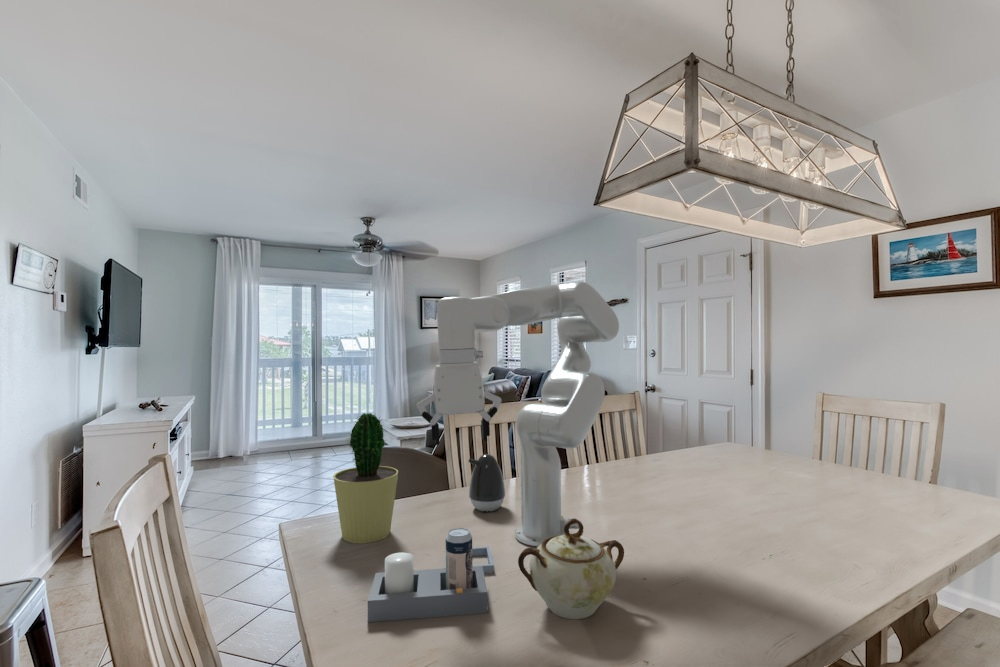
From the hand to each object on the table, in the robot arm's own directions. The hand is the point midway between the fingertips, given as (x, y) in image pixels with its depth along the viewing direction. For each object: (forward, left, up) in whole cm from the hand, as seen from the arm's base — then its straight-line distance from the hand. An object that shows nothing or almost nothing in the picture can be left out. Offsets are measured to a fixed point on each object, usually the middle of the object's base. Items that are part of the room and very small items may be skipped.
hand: (461, 441), depth 98 cm
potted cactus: (+22, -23, -26) cm, 42 cm away
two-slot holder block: (+6, +11, -26) cm, 29 cm away
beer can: (+1, +11, -26) cm, 29 cm away
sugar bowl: (-19, +16, -26) cm, 36 cm away
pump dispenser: (-9, -37, -26) cm, 47 cm away
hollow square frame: (-2, -3, -26) cm, 26 cm away
